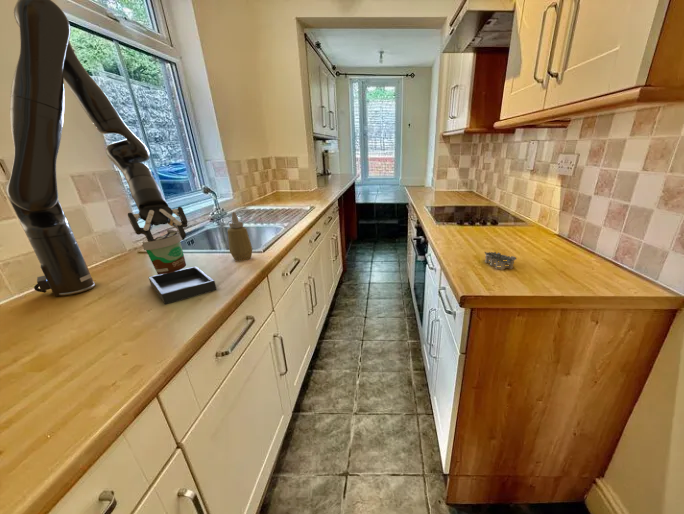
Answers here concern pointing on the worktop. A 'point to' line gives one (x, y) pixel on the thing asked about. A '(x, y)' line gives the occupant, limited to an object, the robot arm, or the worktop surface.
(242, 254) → the squeeze bottle
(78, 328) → the worktop surface
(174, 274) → the tray
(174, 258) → the food container
